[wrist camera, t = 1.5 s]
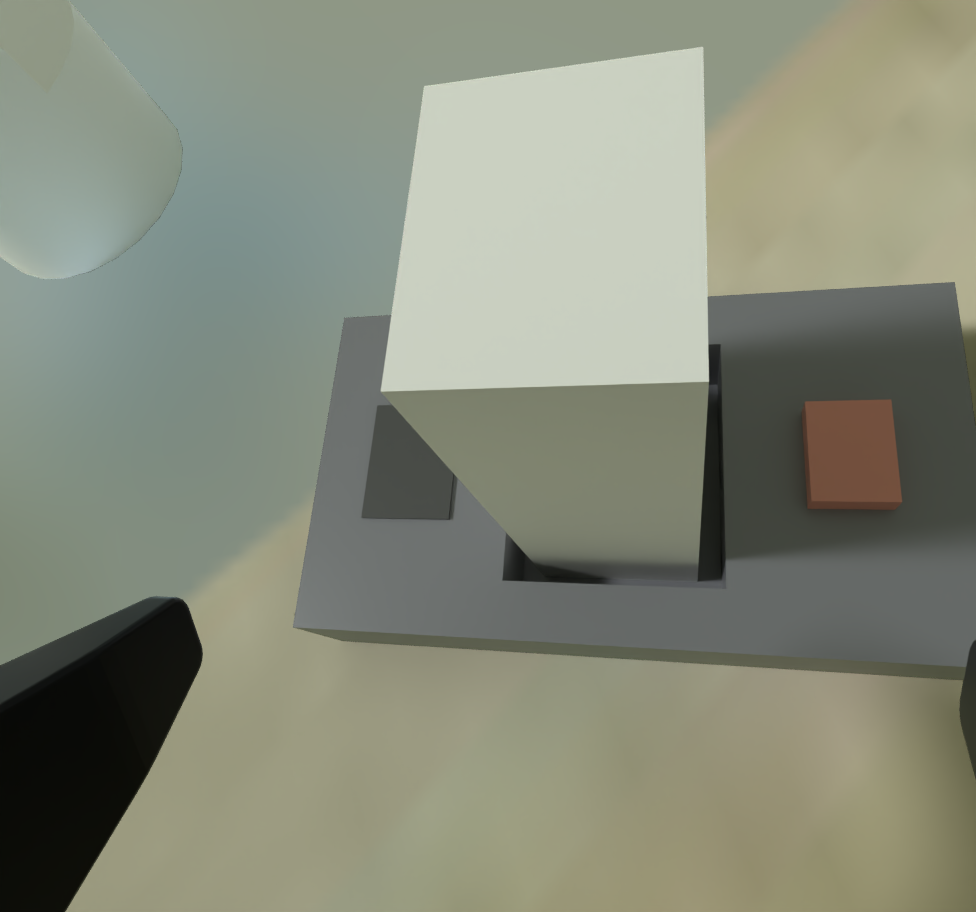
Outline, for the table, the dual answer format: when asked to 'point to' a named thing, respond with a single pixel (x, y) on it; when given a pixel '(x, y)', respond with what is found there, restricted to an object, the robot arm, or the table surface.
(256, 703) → the table surface
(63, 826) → the robot arm
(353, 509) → the power strip
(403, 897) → the table surface
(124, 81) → the base with upright slab
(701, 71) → the block
